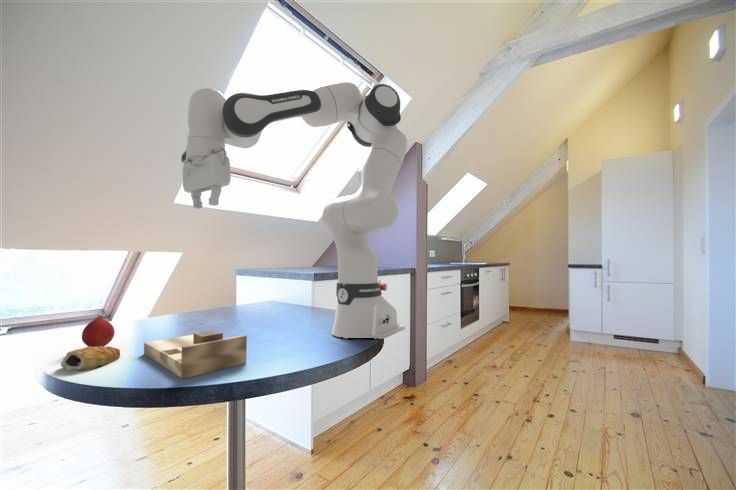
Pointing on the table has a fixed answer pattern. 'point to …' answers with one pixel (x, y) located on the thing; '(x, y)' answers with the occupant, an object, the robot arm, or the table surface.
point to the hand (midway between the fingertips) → (205, 206)
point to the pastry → (89, 357)
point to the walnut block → (207, 336)
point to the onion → (98, 332)
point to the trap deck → (197, 354)
